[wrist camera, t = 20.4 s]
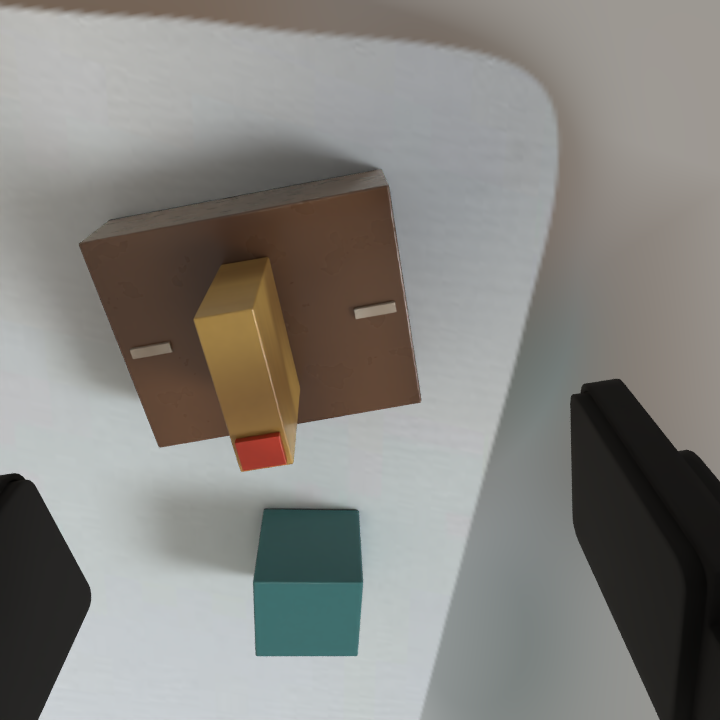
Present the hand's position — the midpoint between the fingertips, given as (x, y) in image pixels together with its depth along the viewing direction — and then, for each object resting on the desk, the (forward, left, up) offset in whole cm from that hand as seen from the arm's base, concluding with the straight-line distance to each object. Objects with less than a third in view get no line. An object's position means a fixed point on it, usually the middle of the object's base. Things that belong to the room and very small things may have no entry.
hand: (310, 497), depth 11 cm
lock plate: (+2, +1, -14) cm, 14 cm away
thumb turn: (+2, +1, -11) cm, 11 cm away
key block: (+3, +14, -14) cm, 20 cm away
